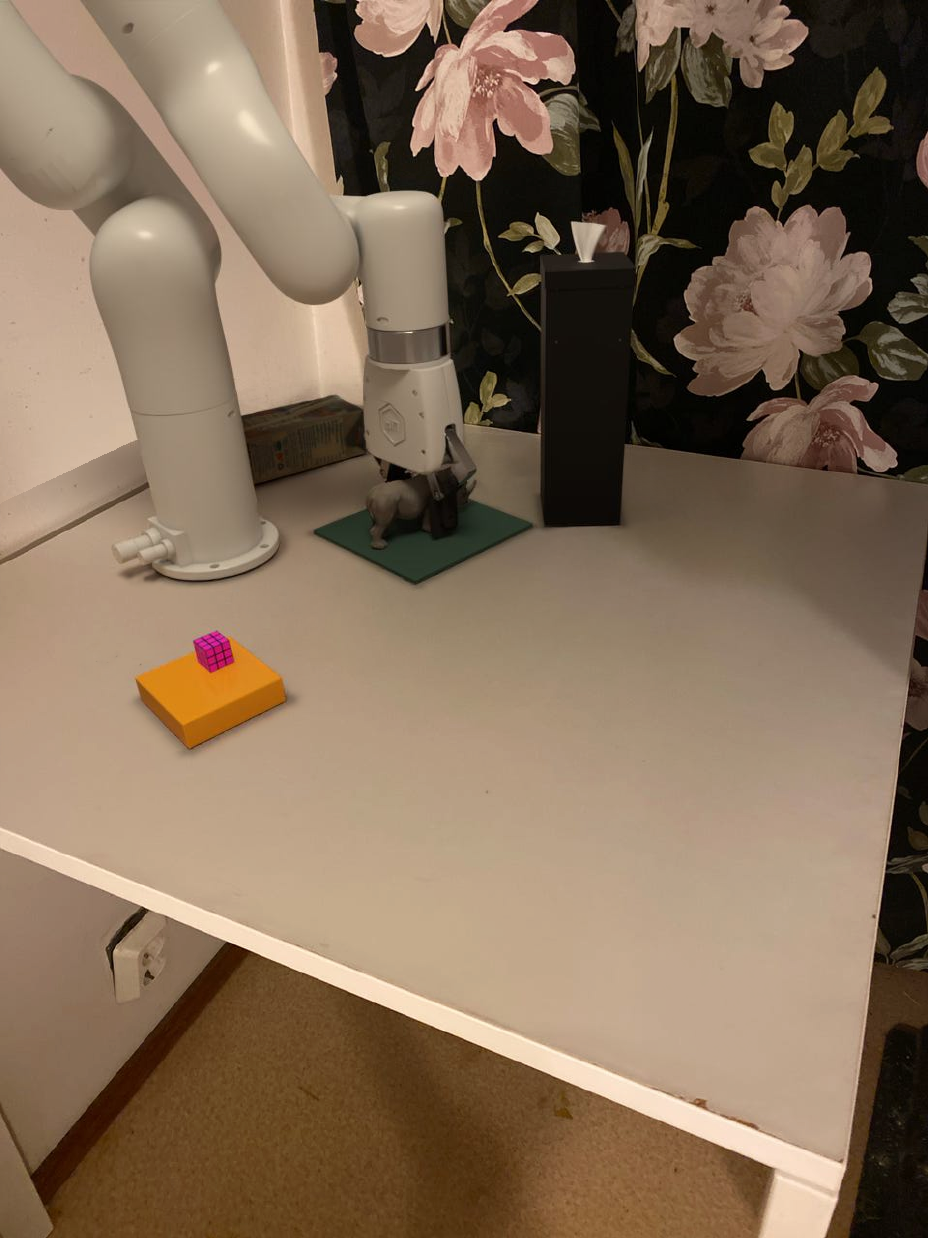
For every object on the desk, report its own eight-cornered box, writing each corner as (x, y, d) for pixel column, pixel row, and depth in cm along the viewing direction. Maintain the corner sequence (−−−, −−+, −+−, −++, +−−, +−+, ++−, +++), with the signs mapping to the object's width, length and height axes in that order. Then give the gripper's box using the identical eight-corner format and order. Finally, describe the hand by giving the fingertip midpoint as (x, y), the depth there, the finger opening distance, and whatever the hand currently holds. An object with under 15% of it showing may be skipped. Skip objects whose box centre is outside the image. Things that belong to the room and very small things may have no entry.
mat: (415, 584, 79) (415, 580, 79) (313, 533, 89) (313, 529, 89) (533, 526, 88) (533, 523, 88) (428, 486, 98) (428, 482, 98)
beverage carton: (371, 454, 108) (365, 402, 104) (227, 496, 98) (215, 441, 95) (340, 437, 113) (333, 387, 110) (200, 476, 104) (188, 423, 100)
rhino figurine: (490, 513, 91) (489, 459, 87) (379, 554, 84) (373, 496, 81) (467, 501, 93) (465, 448, 90) (357, 539, 87) (350, 483, 84)
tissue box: (620, 525, 88) (638, 225, 73) (543, 528, 88) (545, 229, 73) (611, 494, 94) (625, 213, 80) (539, 496, 95) (540, 216, 80)
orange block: (287, 701, 65) (278, 654, 63) (189, 749, 61) (175, 701, 58) (234, 658, 70) (225, 613, 68) (141, 700, 66) (127, 654, 64)
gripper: (319, 336, 82) (342, 510, 92) (442, 368, 71) (453, 561, 81) (381, 321, 86) (396, 488, 96) (505, 348, 76) (509, 534, 85)
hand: (422, 520), depth 88 cm, fingers open, 6 cm apart
